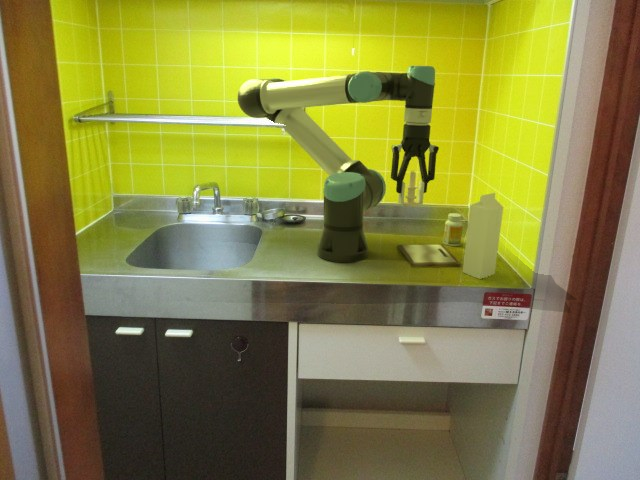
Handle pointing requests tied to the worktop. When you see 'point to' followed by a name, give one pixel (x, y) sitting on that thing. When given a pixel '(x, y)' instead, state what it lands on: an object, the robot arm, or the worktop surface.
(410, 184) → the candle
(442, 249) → the writing board
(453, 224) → the supplement bottle
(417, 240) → the worktop surface
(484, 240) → the milk
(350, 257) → the robot arm
